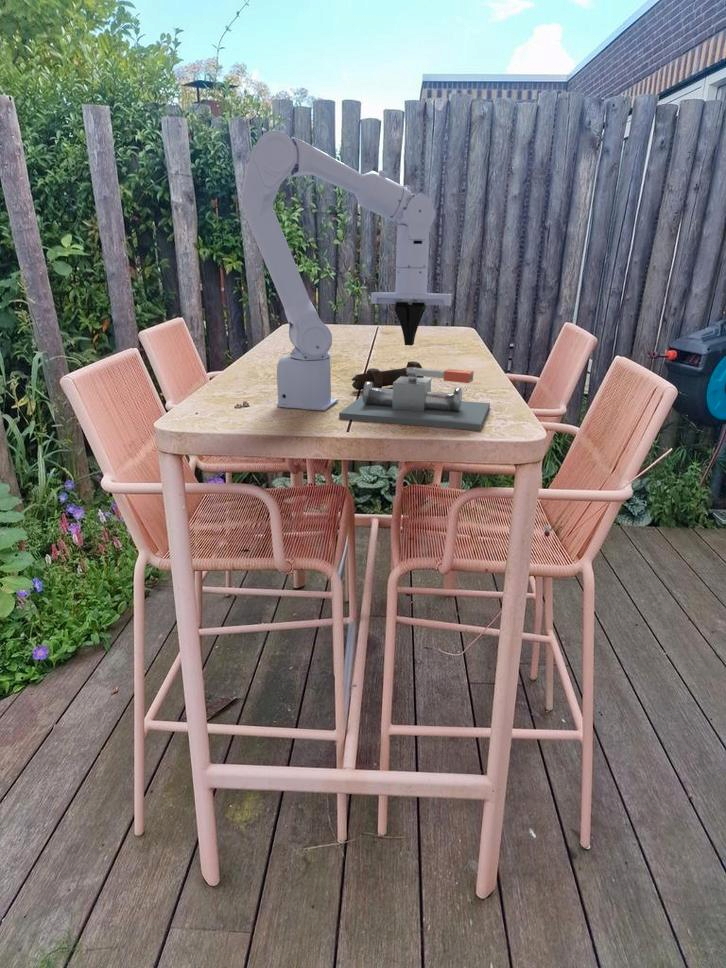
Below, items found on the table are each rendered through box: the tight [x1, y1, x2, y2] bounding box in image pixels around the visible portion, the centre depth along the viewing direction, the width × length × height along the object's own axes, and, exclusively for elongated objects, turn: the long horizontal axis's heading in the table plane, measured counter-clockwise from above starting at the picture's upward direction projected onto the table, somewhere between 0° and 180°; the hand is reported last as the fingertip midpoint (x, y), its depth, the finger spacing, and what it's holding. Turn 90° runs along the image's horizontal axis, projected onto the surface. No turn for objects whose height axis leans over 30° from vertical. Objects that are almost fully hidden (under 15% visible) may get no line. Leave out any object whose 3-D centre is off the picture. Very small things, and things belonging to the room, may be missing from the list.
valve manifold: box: [362, 375, 463, 412], centre depth 104 cm, size 17×6×6 cm, turn 73°
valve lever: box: [406, 367, 474, 384], centre depth 101 cm, size 12×2×2 cm, turn 62°
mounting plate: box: [338, 394, 491, 432], centre depth 105 cm, size 24×15×1 cm, turn 73°
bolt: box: [351, 360, 425, 391], centre depth 123 cm, size 6×5×15 cm
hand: (409, 344), depth 111 cm, fingers closed
